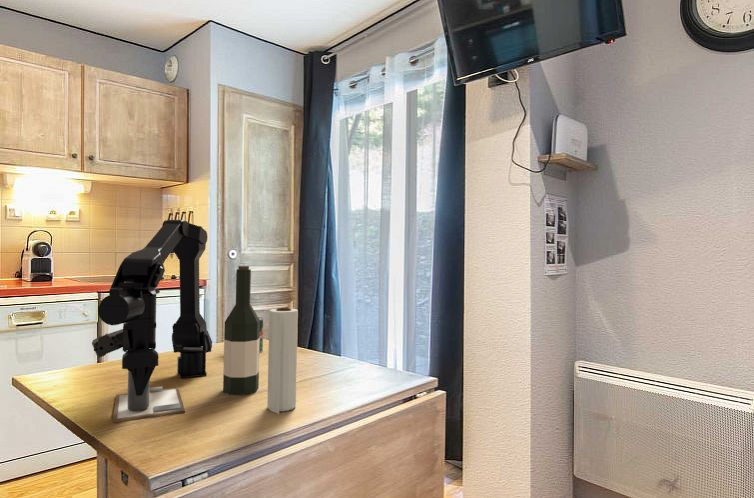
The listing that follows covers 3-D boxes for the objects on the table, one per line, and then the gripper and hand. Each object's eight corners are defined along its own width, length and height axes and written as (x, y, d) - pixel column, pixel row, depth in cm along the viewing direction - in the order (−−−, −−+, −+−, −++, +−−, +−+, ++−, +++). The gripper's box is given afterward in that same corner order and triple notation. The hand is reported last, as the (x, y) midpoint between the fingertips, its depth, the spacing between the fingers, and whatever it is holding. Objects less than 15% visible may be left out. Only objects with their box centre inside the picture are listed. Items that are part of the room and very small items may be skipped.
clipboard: (178, 389, 111) (178, 384, 111) (184, 412, 96) (185, 406, 96) (116, 396, 105) (116, 391, 105) (113, 422, 90) (113, 416, 90)
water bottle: (149, 402, 99) (150, 354, 99) (149, 408, 95) (150, 359, 95) (127, 405, 97) (128, 356, 97) (127, 411, 93) (128, 361, 93)
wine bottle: (265, 387, 114) (268, 266, 114) (245, 397, 106) (248, 267, 106) (237, 383, 117) (239, 265, 117) (215, 393, 109) (218, 265, 109)
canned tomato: (243, 348, 156) (244, 316, 156) (266, 349, 156) (266, 317, 156) (234, 353, 148) (234, 319, 148) (257, 355, 148) (258, 320, 148)
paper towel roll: (280, 401, 104) (282, 306, 104) (301, 406, 101) (303, 308, 101) (257, 410, 98) (259, 309, 98) (278, 416, 95) (281, 312, 95)
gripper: (98, 313, 100) (97, 384, 100) (91, 326, 84) (89, 412, 84) (155, 310, 106) (154, 378, 106) (159, 323, 89) (157, 404, 89)
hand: (139, 392), depth 96 cm, fingers closed on water bottle, 4 cm apart
